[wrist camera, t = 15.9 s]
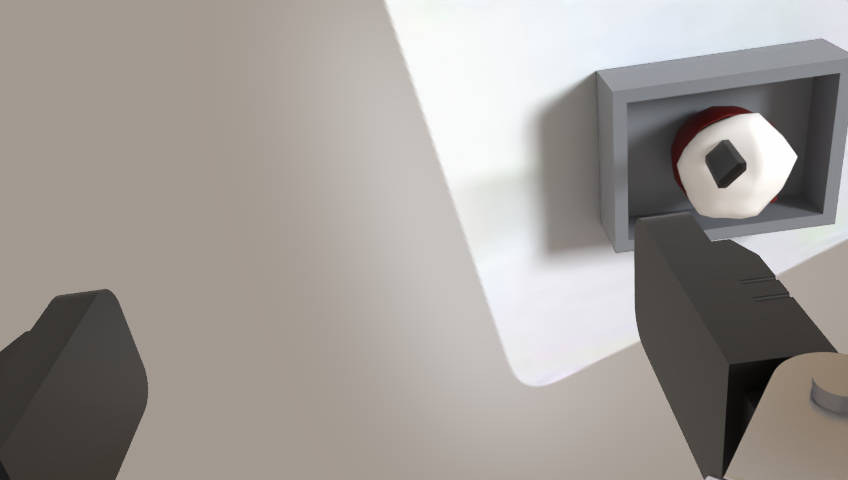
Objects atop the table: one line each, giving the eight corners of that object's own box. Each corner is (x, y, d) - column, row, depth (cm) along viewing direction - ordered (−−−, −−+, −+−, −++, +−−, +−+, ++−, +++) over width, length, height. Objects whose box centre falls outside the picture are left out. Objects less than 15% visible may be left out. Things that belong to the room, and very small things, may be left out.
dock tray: (596, 70, 47) (612, 91, 44) (822, 38, 47) (856, 56, 43) (601, 223, 52) (615, 253, 49) (805, 196, 52) (834, 223, 48)
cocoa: (771, 169, 50) (881, 267, 40) (681, 214, 51) (765, 321, 41) (728, 43, 46) (839, 117, 35) (630, 95, 47) (710, 181, 37)
